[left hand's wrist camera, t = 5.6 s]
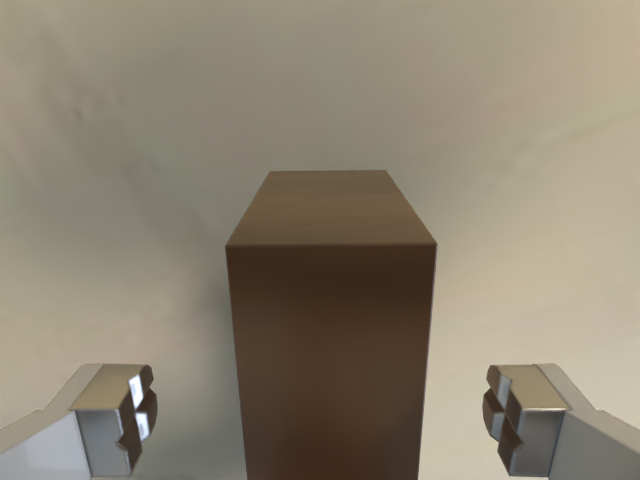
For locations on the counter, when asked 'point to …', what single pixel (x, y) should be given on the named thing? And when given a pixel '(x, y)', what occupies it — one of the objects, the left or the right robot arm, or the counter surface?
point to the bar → (331, 326)
